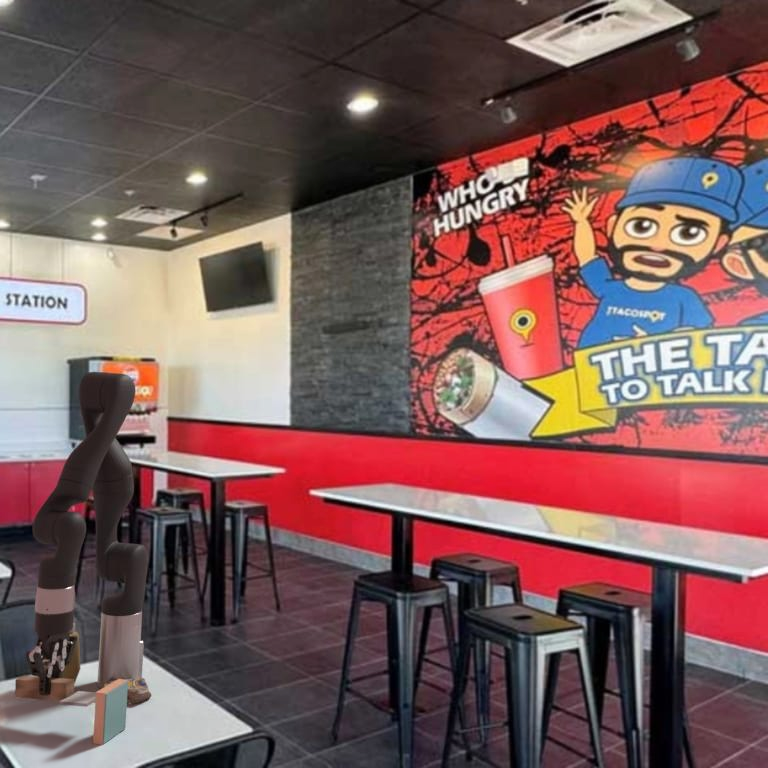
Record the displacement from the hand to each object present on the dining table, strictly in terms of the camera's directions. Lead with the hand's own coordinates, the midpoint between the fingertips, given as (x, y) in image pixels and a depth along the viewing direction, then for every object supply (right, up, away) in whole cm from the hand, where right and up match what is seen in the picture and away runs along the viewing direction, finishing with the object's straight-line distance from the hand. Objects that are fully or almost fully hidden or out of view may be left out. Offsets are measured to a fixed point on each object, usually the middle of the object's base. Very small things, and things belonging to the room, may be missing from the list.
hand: (50, 691), depth 159 cm
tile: (+13, -8, -4) cm, 16 cm away
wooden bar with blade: (+2, -1, 0) cm, 2 cm away
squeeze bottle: (-7, -7, +22) cm, 24 cm away
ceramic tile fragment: (+10, -8, +18) cm, 22 cm away
